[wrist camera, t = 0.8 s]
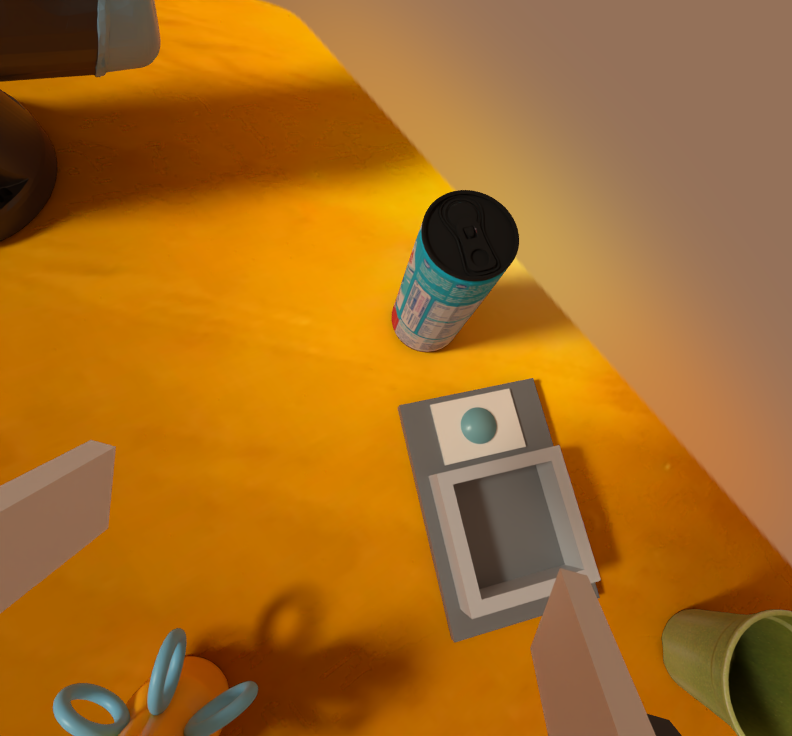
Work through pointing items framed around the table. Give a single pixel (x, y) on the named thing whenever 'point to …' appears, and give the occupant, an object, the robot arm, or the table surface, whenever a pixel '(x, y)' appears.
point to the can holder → (494, 505)
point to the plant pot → (735, 666)
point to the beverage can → (453, 267)
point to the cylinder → (162, 699)
